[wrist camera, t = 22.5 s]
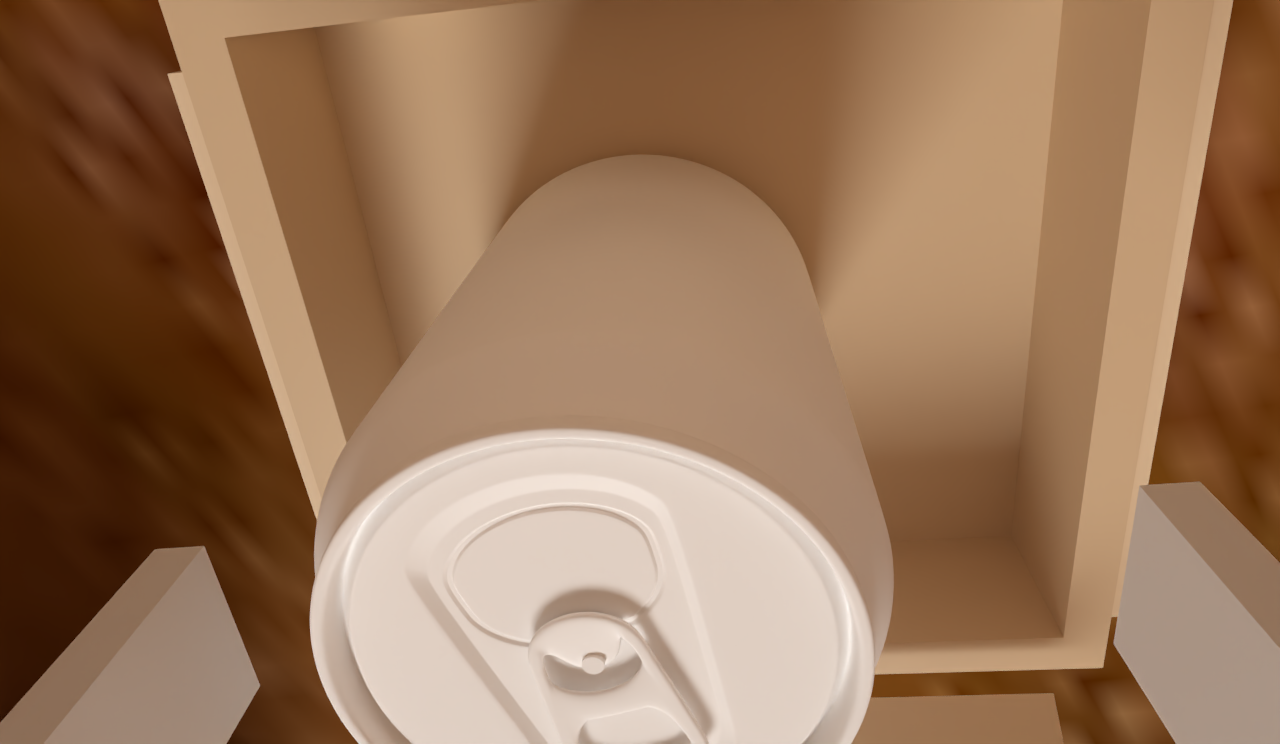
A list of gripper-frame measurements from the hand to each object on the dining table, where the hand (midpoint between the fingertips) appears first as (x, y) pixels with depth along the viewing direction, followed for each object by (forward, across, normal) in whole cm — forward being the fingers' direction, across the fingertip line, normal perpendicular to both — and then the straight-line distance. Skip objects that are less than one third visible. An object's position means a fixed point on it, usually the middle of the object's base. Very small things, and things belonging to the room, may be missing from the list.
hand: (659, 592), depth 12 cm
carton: (+11, +1, 0) cm, 11 cm away
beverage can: (+10, 0, 0) cm, 11 cm away
